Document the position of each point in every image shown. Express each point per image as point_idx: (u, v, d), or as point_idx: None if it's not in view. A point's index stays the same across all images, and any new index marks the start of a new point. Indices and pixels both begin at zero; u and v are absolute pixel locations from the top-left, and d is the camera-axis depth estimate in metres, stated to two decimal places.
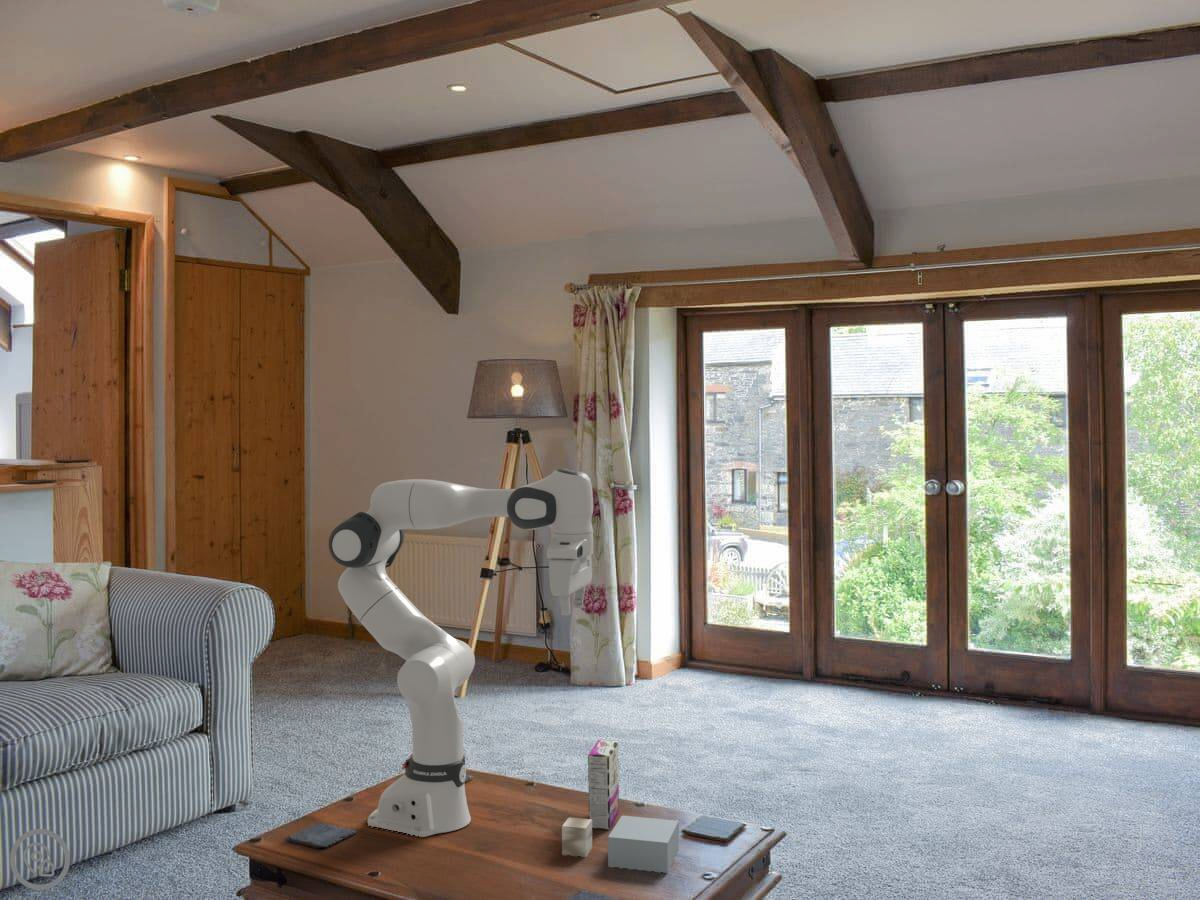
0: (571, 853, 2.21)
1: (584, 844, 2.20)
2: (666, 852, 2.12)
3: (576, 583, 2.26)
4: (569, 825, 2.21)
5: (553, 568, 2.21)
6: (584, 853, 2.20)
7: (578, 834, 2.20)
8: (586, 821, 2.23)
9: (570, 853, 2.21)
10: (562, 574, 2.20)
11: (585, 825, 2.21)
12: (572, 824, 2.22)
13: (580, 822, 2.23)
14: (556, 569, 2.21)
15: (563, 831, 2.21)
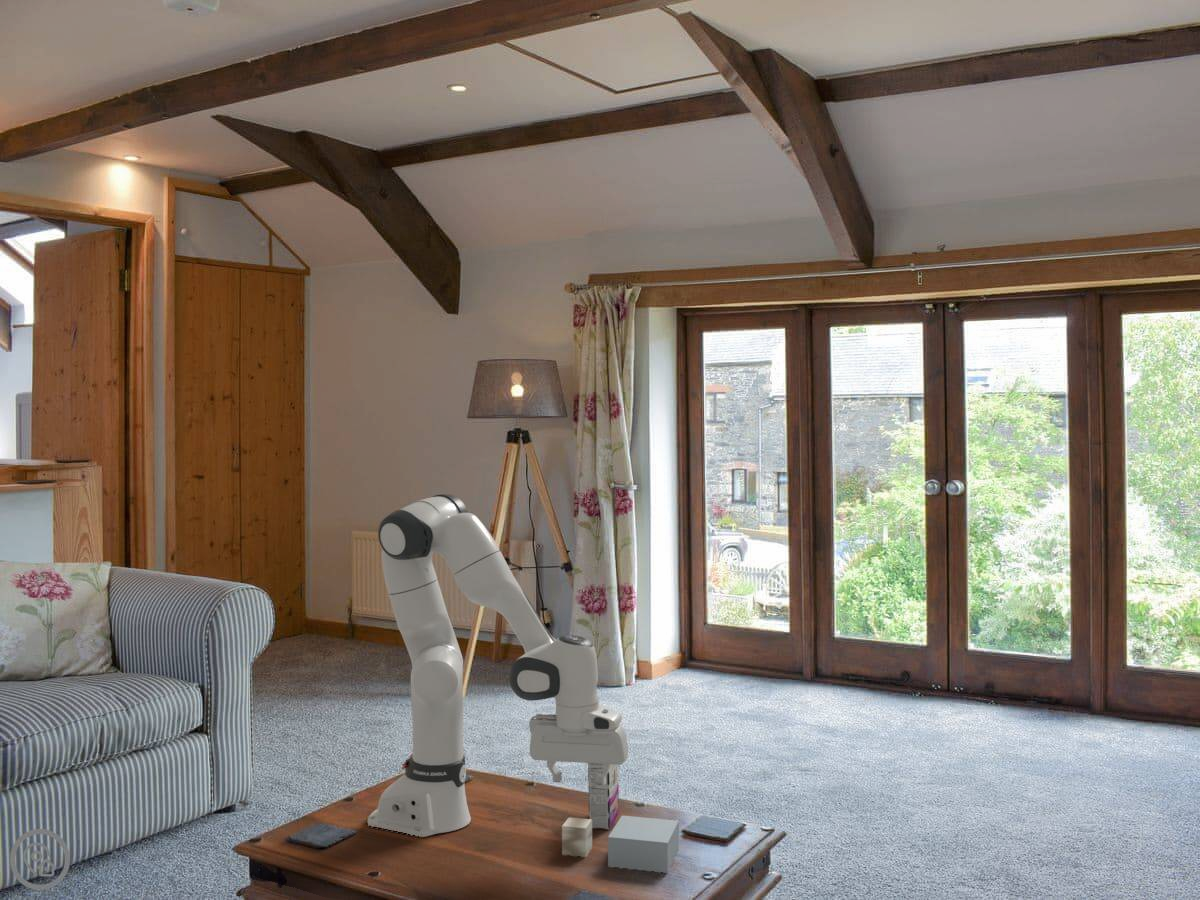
0: (571, 853, 2.21)
1: (584, 844, 2.20)
2: (666, 852, 2.12)
3: None
4: (569, 825, 2.21)
5: (621, 737, 2.18)
6: (584, 853, 2.20)
7: (578, 834, 2.20)
8: (586, 821, 2.23)
9: (570, 853, 2.21)
10: (625, 740, 2.20)
11: (585, 825, 2.21)
12: (572, 824, 2.22)
13: (580, 822, 2.23)
14: (622, 736, 2.19)
15: (563, 831, 2.21)
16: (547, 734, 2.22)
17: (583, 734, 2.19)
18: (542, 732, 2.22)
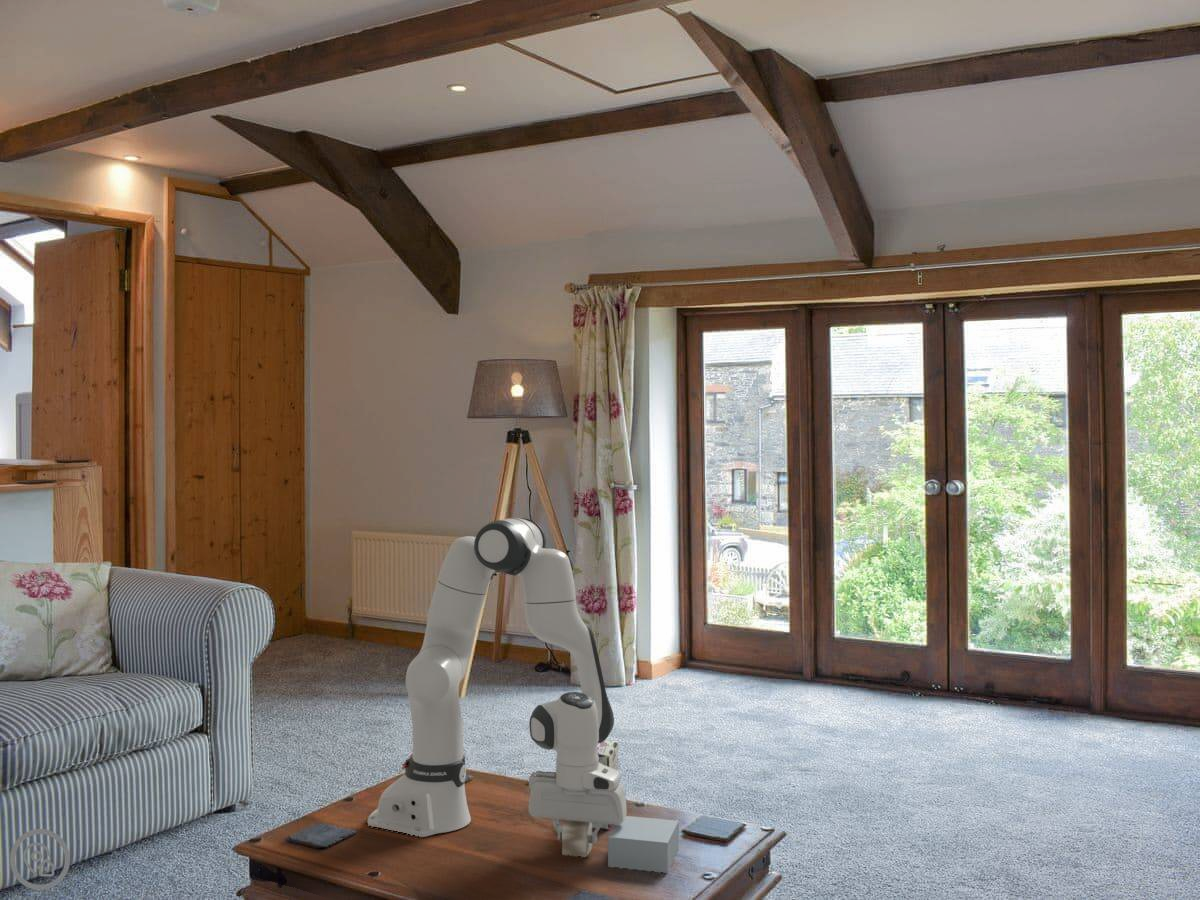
0: (571, 853, 2.21)
1: (584, 844, 2.20)
2: (666, 852, 2.12)
3: None
4: (569, 825, 2.21)
5: (620, 797, 2.19)
6: (584, 853, 2.20)
7: (578, 834, 2.20)
8: None
9: (570, 853, 2.21)
10: (624, 800, 2.21)
11: (585, 825, 2.21)
12: (572, 824, 2.22)
13: (580, 822, 2.23)
14: (621, 797, 2.20)
15: (563, 831, 2.21)
16: (546, 792, 2.22)
17: (583, 793, 2.20)
18: (541, 789, 2.23)
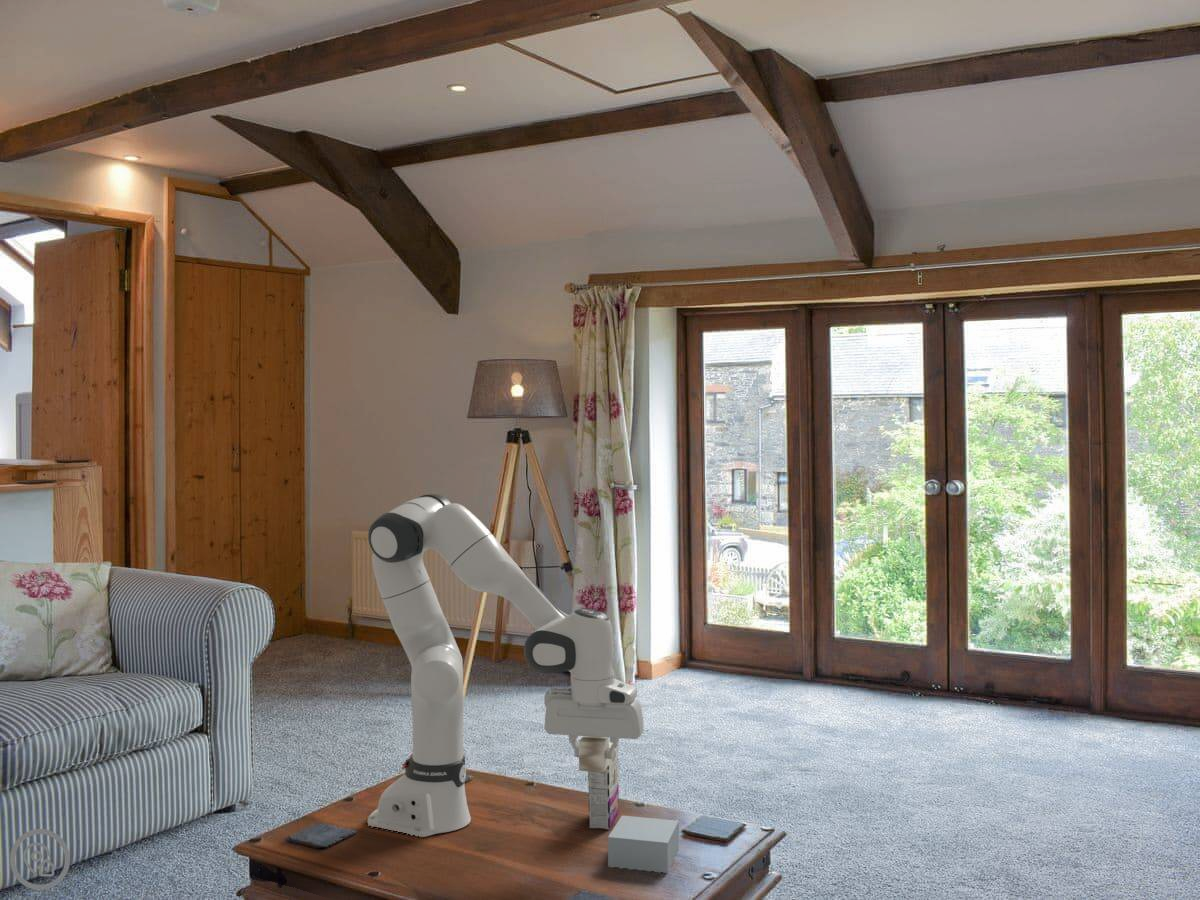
0: (588, 768, 2.19)
1: (601, 759, 2.18)
2: (666, 852, 2.12)
3: None
4: (586, 740, 2.20)
5: (637, 711, 2.17)
6: (601, 768, 2.18)
7: (595, 749, 2.18)
8: (603, 737, 2.22)
9: (587, 768, 2.19)
10: (640, 714, 2.19)
11: (602, 740, 2.19)
12: (589, 739, 2.20)
13: (596, 738, 2.21)
14: (638, 710, 2.18)
15: (580, 746, 2.19)
16: (562, 708, 2.21)
17: (599, 708, 2.18)
18: (557, 706, 2.21)
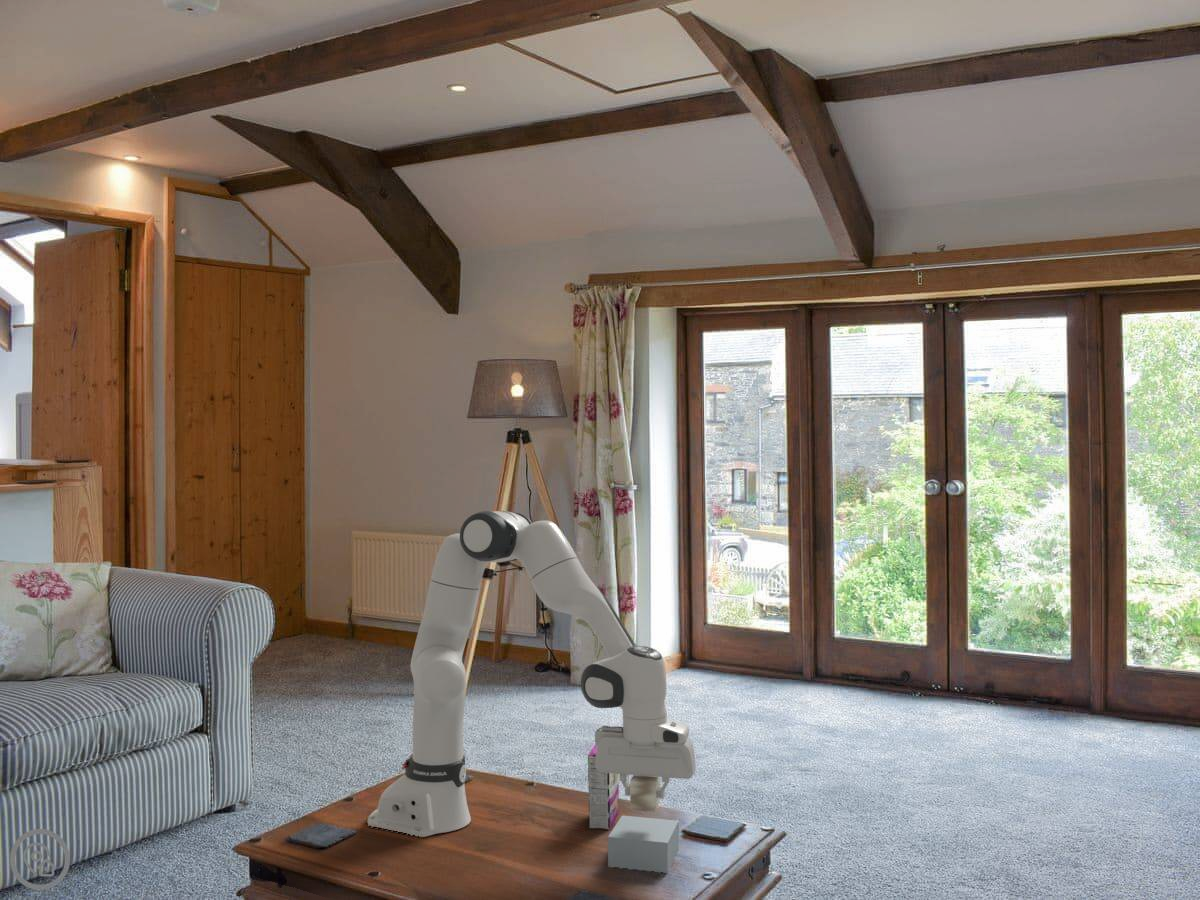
0: (640, 808, 2.17)
1: (653, 798, 2.16)
2: (666, 852, 2.12)
3: None
4: (637, 779, 2.18)
5: (690, 751, 2.15)
6: (653, 807, 2.16)
7: (647, 788, 2.17)
8: None
9: (639, 808, 2.17)
10: (693, 753, 2.17)
11: (653, 779, 2.18)
12: (641, 778, 2.18)
13: (648, 777, 2.19)
14: (691, 750, 2.16)
15: (631, 785, 2.17)
16: (613, 746, 2.19)
17: (651, 747, 2.16)
18: (608, 744, 2.19)
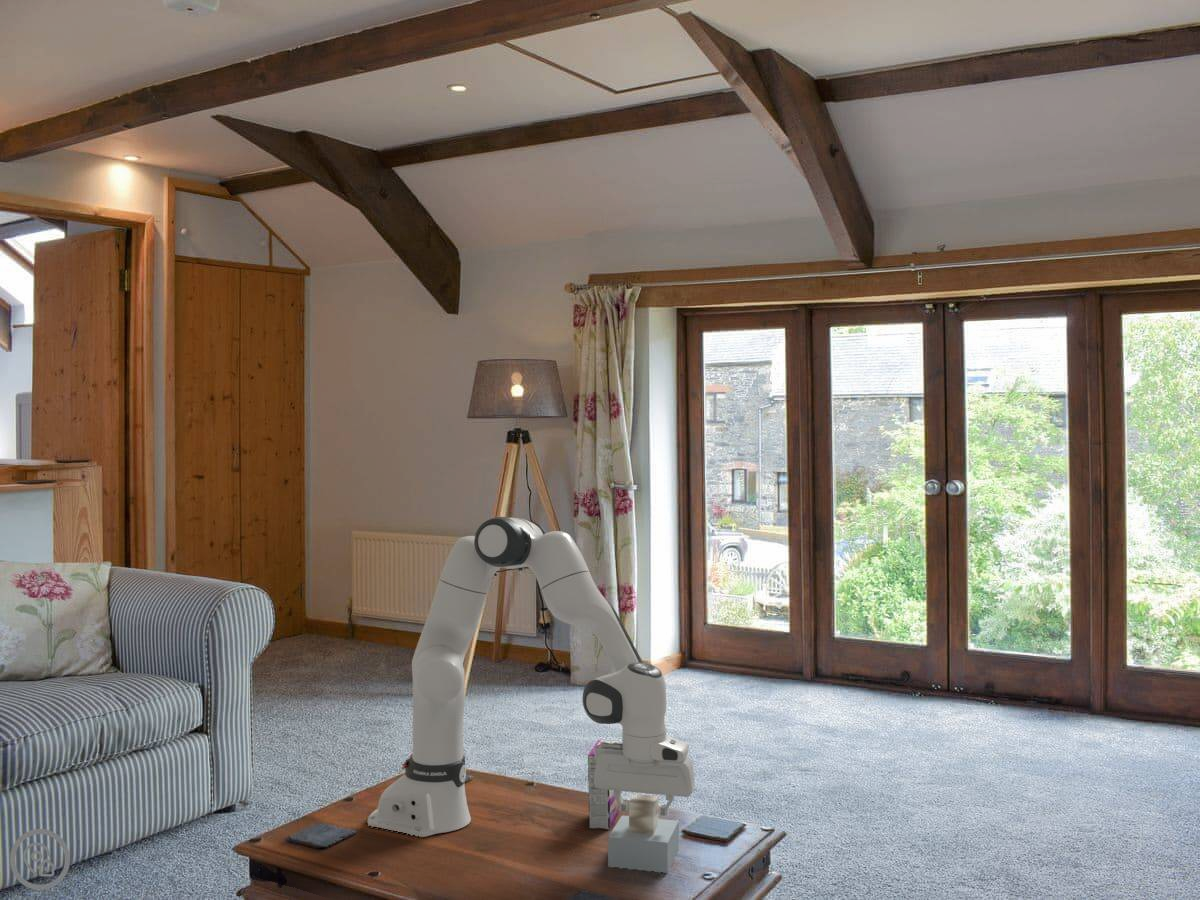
0: (638, 830, 2.17)
1: (652, 821, 2.16)
2: (666, 852, 2.12)
3: None
4: (636, 801, 2.18)
5: (689, 768, 2.15)
6: (652, 830, 2.16)
7: (646, 810, 2.17)
8: (653, 798, 2.20)
9: (637, 830, 2.17)
10: (692, 771, 2.17)
11: (652, 801, 2.18)
12: (639, 800, 2.18)
13: (646, 799, 2.19)
14: (690, 768, 2.16)
15: (630, 807, 2.17)
16: (613, 763, 2.19)
17: (650, 765, 2.16)
18: (607, 761, 2.19)
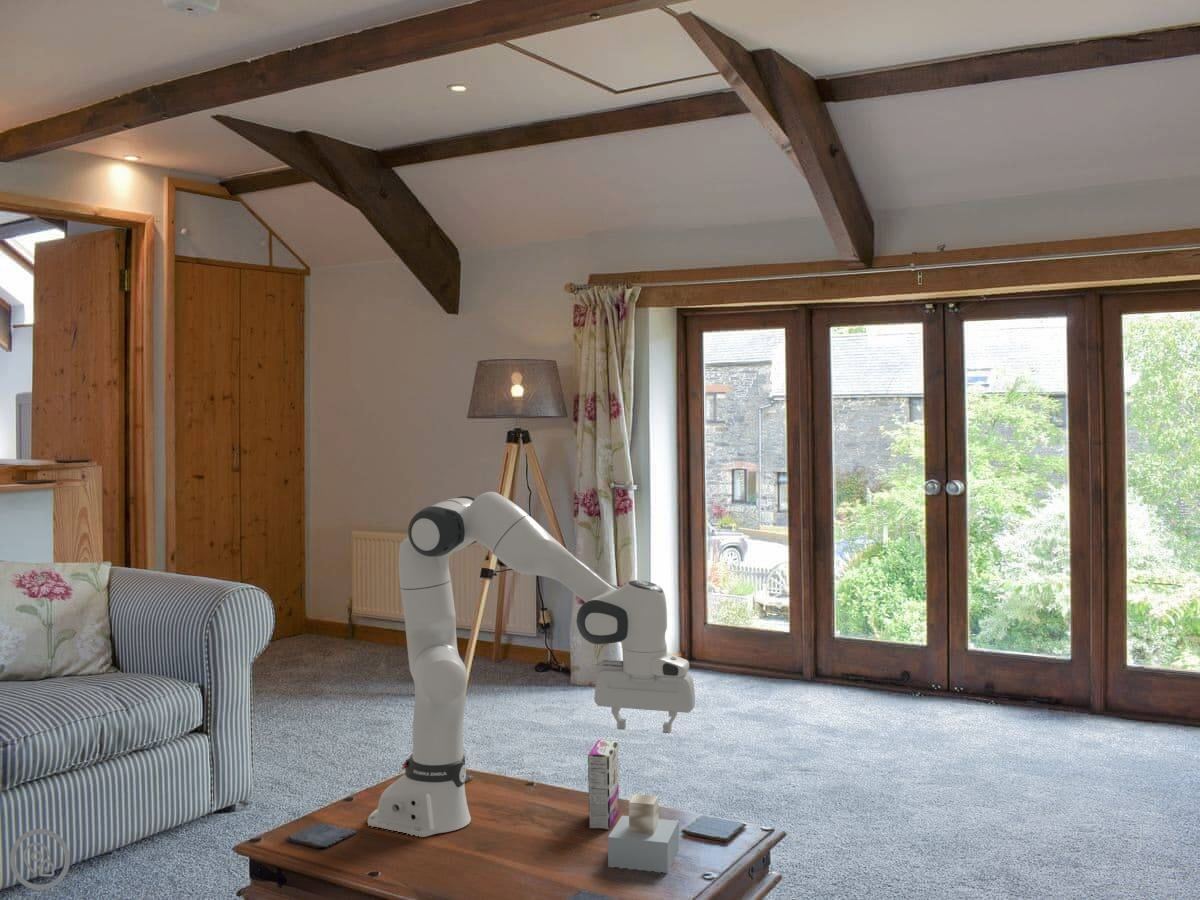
0: (638, 830, 2.17)
1: (652, 821, 2.16)
2: (666, 852, 2.12)
3: None
4: (636, 801, 2.18)
5: (690, 684, 2.15)
6: (652, 830, 2.16)
7: (646, 810, 2.17)
8: (653, 798, 2.20)
9: (637, 830, 2.17)
10: (693, 688, 2.17)
11: (652, 801, 2.18)
12: (639, 800, 2.18)
13: (646, 799, 2.19)
14: (690, 684, 2.15)
15: (630, 807, 2.17)
16: (613, 680, 2.18)
17: (651, 680, 2.16)
18: (608, 677, 2.18)
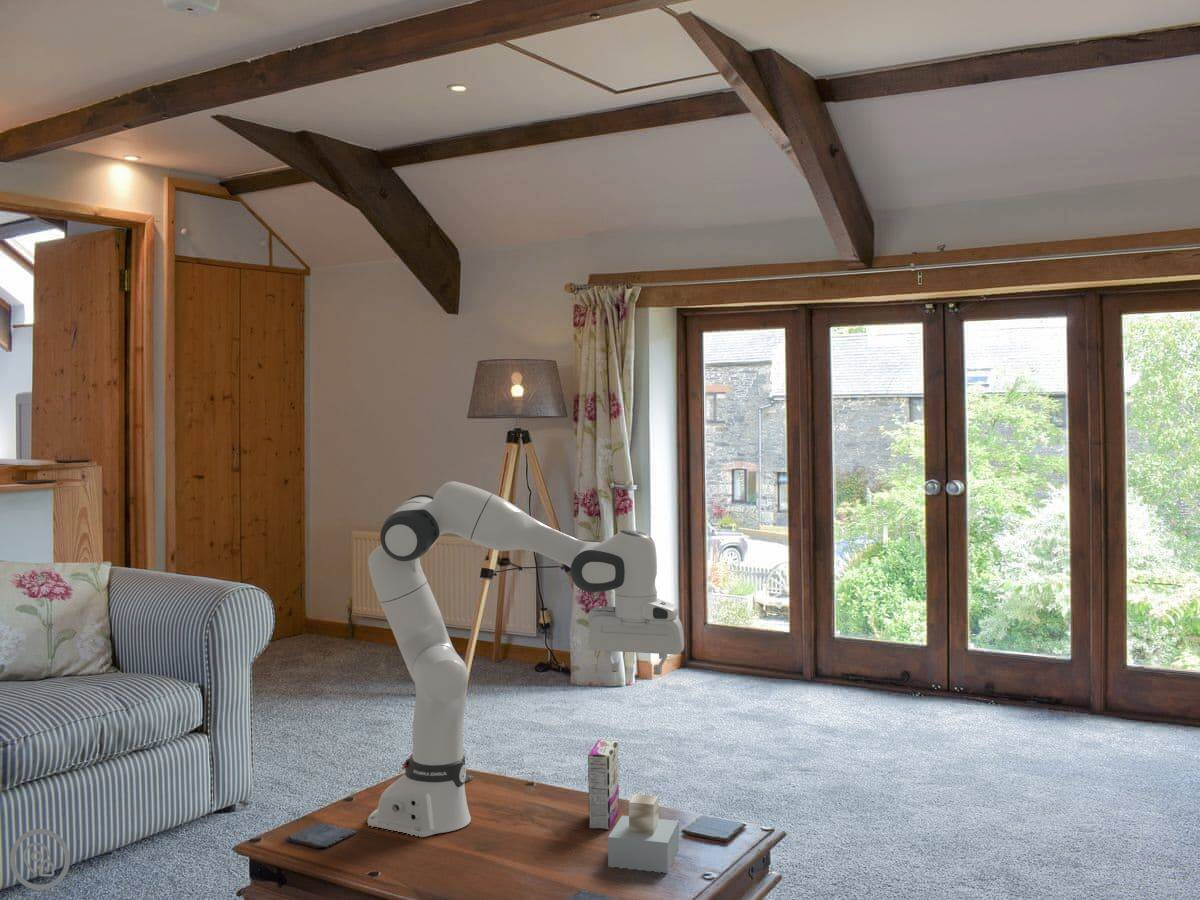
0: (638, 830, 2.17)
1: (652, 821, 2.16)
2: (666, 852, 2.12)
3: None
4: (636, 801, 2.18)
5: (679, 627, 2.25)
6: (652, 830, 2.16)
7: (646, 810, 2.17)
8: (653, 798, 2.20)
9: (637, 830, 2.17)
10: (682, 631, 2.27)
11: (652, 801, 2.18)
12: (639, 800, 2.18)
13: (646, 799, 2.19)
14: (680, 627, 2.26)
15: (630, 807, 2.17)
16: (606, 625, 2.29)
17: (642, 624, 2.26)
18: (601, 622, 2.29)
